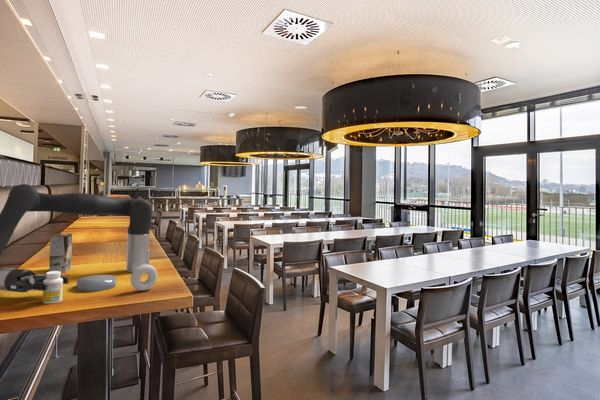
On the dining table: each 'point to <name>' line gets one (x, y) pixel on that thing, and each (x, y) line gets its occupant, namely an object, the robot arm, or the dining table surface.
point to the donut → (137, 274)
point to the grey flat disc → (96, 283)
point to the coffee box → (60, 252)
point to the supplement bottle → (53, 287)
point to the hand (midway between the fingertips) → (57, 283)
